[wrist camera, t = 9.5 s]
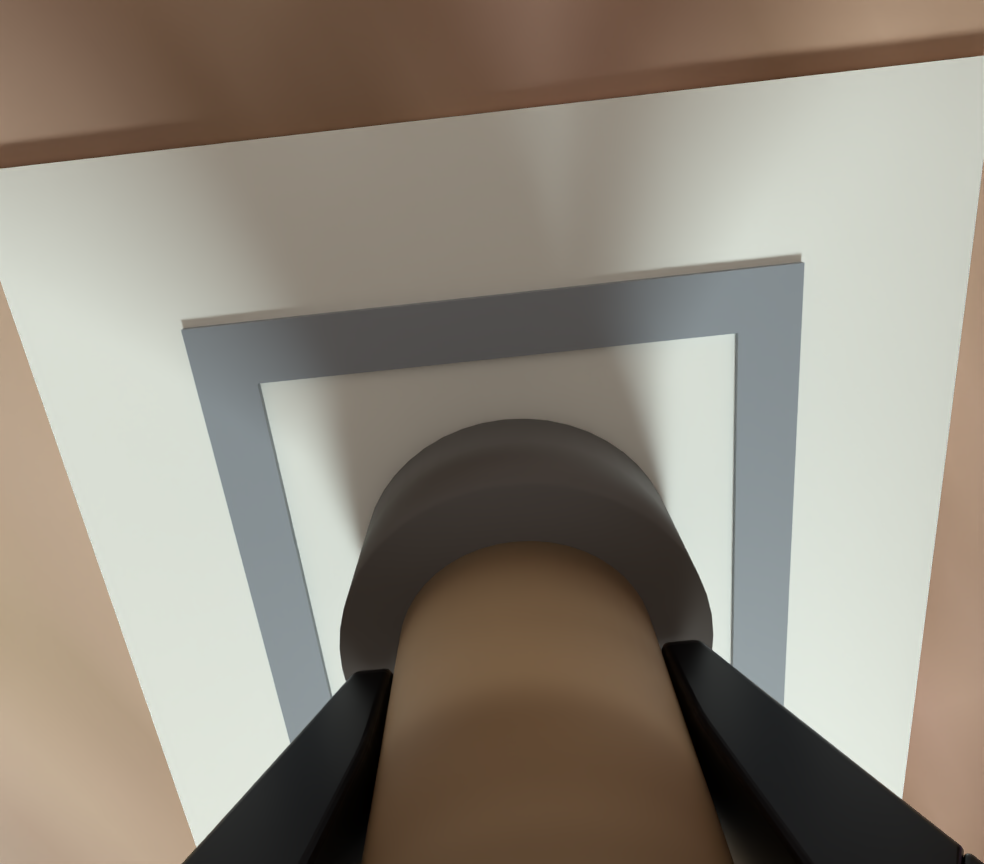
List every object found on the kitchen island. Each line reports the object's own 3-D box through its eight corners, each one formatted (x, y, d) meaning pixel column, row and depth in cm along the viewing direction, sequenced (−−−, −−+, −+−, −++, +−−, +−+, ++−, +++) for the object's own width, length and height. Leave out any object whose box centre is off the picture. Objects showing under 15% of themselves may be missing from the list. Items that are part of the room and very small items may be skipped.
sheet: (892, 819, 13) (901, 835, 13) (214, 877, 13) (209, 893, 13) (986, 55, 9) (1002, 53, 8) (-25, 172, 9) (-44, 172, 9)
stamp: (675, 672, 11) (929, 1382, 5) (390, 698, 12) (269, 1422, 5) (671, 402, 10) (1036, 922, 3) (338, 436, 10) (64, 1000, 3)
